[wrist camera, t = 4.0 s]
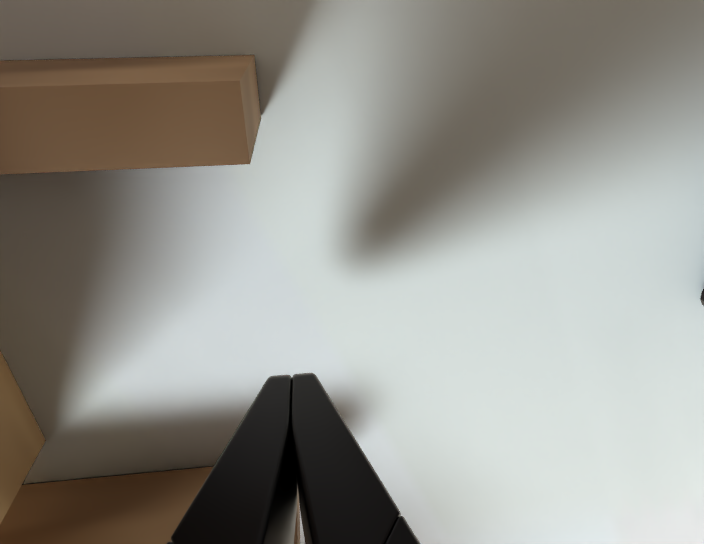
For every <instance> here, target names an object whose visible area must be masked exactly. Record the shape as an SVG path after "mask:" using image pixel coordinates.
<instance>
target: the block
mask: <svg viewBox="0 0 704 544" xmlns="http://www.w3.org/2000/svg"><path fill="white" fill-rule="evenodd" d="M45 441H46V440H45V438H44V436H43V434H42V432H41V430H40V428H39V426H38V424H37V422H36V420H35V418H34V416H33V414H32V412H31V410H30V408H29V406H28V404H27V402H26V400H25V398H24V396H23V394H22V392H21V390H20V388H19V386H18V384H17V382H16V380H15V378H14V376H13V375H12V373H11V371H10V369H9V367H8V365H7V363H6V361H5V359H4V357H3V355H2V353H1V351H0V524H1V522H2V520H3V518H4V517H5V515H6V513H7V511H8V509H9V507H10V506H11V504H12V502H13V500H14V498H15V496H16V495H17V493H18V491H19V489H20V487H21V485H22V483H23V482H24V480H25V478H26V476H27V474H28V472H29V471H30V469H31V467H32V465H33V463H34V461H35V459H36V458H37V456H38V454H39V452H40V450H41V448H42V447H43V445H44V443H45Z"/></svg>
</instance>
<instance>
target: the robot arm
mask: <svg viewBox="0 0 704 544" xmlns="http://www.w3.org/2000/svg"><path fill="white" fill-rule="evenodd" d="M700 299H701V302H702V305H704V289H703V291H702V294H701V298H700ZM298 495H299V503H300V511H301V518H302V524H303V531H304V537H305V544H420V542H419V541H418V539H417V538H416V536H415V535H414V533H413V531H412V530H411V528H410V527H409V525H408V523H407V522H406V520H405V519H404V517H403V516H400V511H399V509H398V508H397V506H396V504H395V503H394V501H393V500H392V498H391V496H390V495H389V493H388V491H387V490H386V488H385V487H384V485H383V483H382V482H381V480H380V478H379V477H378V475H377V474H376V472H375V470H374V469H373V467H372V465H371V464H370V462H369V461H368V459H367V457H366V456H365V454H364V453H363V451H362V449H361V448H360V446H359V444H358V443H357V441H356V440H355V438H354V436H353V435H352V433H351V431H350V430H349V428H348V427H347V425H346V423H345V422H344V420H343V418H342V417H341V415H340V414H339V412H338V410H337V409H336V407H335V406H334V404H333V402H332V401H331V399H330V397H329V396H328V394H327V393H326V391H325V389H324V388H323V386H322V384H321V383H320V381H319V380H318V378H317V376H316V375H315V374H313V373H304V374H295V375H293V377H291V376H290V375H279V376H271V377H269V378H268V379H267V381H266V382H265V384H264V385H263V387H262V389H261V390H260V392H259V394H258V395H257V397H256V398H255V400H254V402H253V403H252V405H251V407H250V408H249V410H248V412H247V413H246V415H245V416H244V418H243V420H242V421H241V423H240V425H239V426H238V428H237V430H236V431H235V433H234V434H233V436H232V438H231V439H230V441H229V443H228V444H227V446H226V447H225V449H224V451H223V452H222V454H221V456H220V457H219V459H218V461H217V462H216V464H215V465H214V467H213V469H212V470H211V472H210V474H209V475H208V477H207V479H206V480H205V482H204V483H203V485H202V487H201V488H200V490H199V492H198V493H197V495H196V496H195V498H194V500H193V501H192V503H191V505H190V506H189V508H188V510H187V511H186V513H185V514H184V516H183V518H182V519H181V521H180V523H179V524H178V526H177V528H176V529H175V531H174V532H173V534H172V536H171V541H169V542H167V543H166V544H294V536H295V525H296V514H297V499H298Z"/></svg>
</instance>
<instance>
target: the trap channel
mask: <svg viewBox="0 0 704 544" xmlns="http://www.w3.org/2000/svg"><path fill="white" fill-rule="evenodd" d="M260 120H261V113H260V104H259V94H258V85H257V75H256V66H255V56H254V55H231V56H185V57H140V58H95V59H49V60H4V61H0V174H24V173H47V172H71V171H95V170H119V169H143V168H167V167H190V166H214V165H238V164H250V162H251V157H252V153H253V149H254V145H255V141H256V137H257V133H258V128H259V124H260ZM213 467H214V466H213ZM213 467H203V468H192V469H182V470H171V471H161V472H151V473H140V474H130V475H120V476H109V477H99V478H89V479H78V480H68V481H57V482H47V483H37V484H26V485H21V487H20V489H19V491H18V493H17V495H16V496H15V498H14V500H13V502H12V504H11V506H10V507H9V509H8V511H7V513H6V515H5V517H4V518H3V520H2V522H1V524H0V544H166V543H167V542H169V541H171V536H172V534H173V532H174V531H175V529H176V528H177V526H178V524H179V523H180V521H181V519H182V518H183V516H184V514H185V513H186V511H187V510H188V508H189V506H190V505H191V503H192V501H193V500H194V498H195V496H196V495H197V493H198V492H199V490H200V488H201V487H202V485H203V483H204V482H205V480H206V479H207V477H208V475H209V474H210V472H211V470H212V469H213ZM294 544H300V508H299V495H298V499H297V514H296V525H295V536H294Z"/></svg>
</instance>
